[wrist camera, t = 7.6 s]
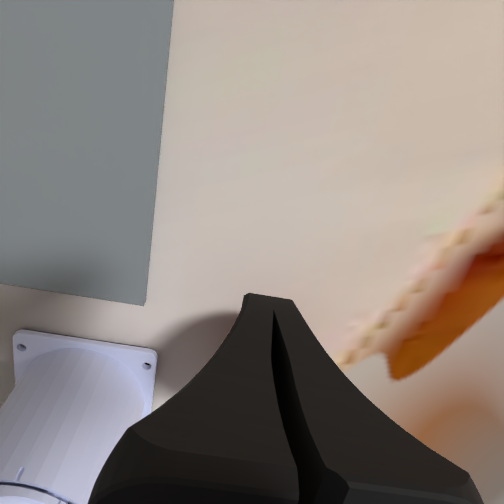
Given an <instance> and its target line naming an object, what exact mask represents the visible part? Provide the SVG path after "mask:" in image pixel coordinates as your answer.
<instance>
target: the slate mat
mask: <svg viewBox="0 0 504 504" xmlns="http://www.w3.org/2000/svg"><path fill="white" fill-rule="evenodd" d="M173 4H174V0H0V283H1V284H7V285H13V286H20V287H26V288H32V289H39V290H45V291H51V292H58V293H64V294H70V295H77V296H83V297H89V298H96V299H102V300H108V301H115V302H121V303H127V304H134V305H140V306H144V304H145V302H146V293H147V282H148V271H149V261H150V250H151V239H152V229H153V218H154V207H155V197H156V186H157V175H158V165H159V154H160V143H161V133H162V122H163V111H164V101H165V90H166V79H167V68H168V58H169V47H170V36H171V26H172V15H173Z"/></svg>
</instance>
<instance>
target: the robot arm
mask: <svg viewBox="0 0 504 504" xmlns="http://www.w3.org/2000/svg"><path fill="white" fill-rule="evenodd" d="M12 343H13V359H14V374H15V387H14V389H13V390H12V392H11V393H10V395H9V396H8V398H7V399H6V401H5V402H4V404H3V405H2V407H1V408H0V504H484V503H483V501H482V499H481V496H480V494H479V492H478V490H477V488H476V486H475V484H474V482H473V480H472V479H471V477H470V475H469V473H468V472H466V471H465V470H463V469H461V468H460V467H458V466H456V465H455V464H453V463H452V462H450V461H449V460H447V459H446V458H444V457H442V456H441V455H439V454H437V453H436V452H435V451H433V450H431V449H430V448H428V447H427V446H426V445H424V444H423V443H421V442H420V441H419V440H417V439H416V438H415V437H413V436H412V435H411V434H409V433H408V432H406V431H405V430H404V429H403V428H401V427H400V426H399V425H397V424H396V423H395V422H394V421H392V420H391V419H390V418H389V417H388V416H387V415H385V414H384V413H383V412H382V411H381V410H380V409H378V408H377V407H376V406H375V405H374V404H373V403H372V402H371V401H370V400H369V399H367V398H366V397H365V396H364V395H363V394H362V393H361V392H360V391H359V390H358V389H357V387H356V386H354V384H353V383H352V382H351V381H350V380H349V379H348V378H347V377H346V376H345V375H344V374H343V372H342V371H341V370H340V369H339V368H338V366H337V365H336V364H335V363H334V361H333V360H332V359H331V358H330V357H329V355H328V354H327V353H326V351H325V350H324V348H323V347H322V346H321V344H320V343H319V341H318V340H317V338H316V337H315V336H314V334H313V333H312V331H311V329H310V328H309V326H308V325H307V323H306V322H305V320H304V318H303V317H302V315H301V313H300V312H299V310H298V308H297V307H296V305H295V304H294V302H293V301H292V300H290V299H284V298H278V297H271V296H265V295H259V294H253V293H248V294H246V295H244V298H243V303H242V308H241V311H240V314H239V316H238V318H237V320H236V322H235V324H234V326H233V327H232V329H231V331H230V333H229V334H228V336H227V337H226V339H225V340H224V342H223V343H222V345H221V346H220V348H219V349H218V350H217V352H216V353H215V354H214V356H213V357H212V358H211V359H210V361H209V362H208V363H207V364H206V365H205V366H204V367H203V369H202V370H201V371H200V372H199V373H198V374H197V375H196V376H195V377H194V378H193V379H192V380H191V381H190V382H189V383H188V384H187V385H186V386H185V387H184V388H182V389H181V390H180V391H179V392H178V393H177V394H175V395H174V396H173V397H172V398H170V399H169V400H168V401H167V402H165V403H164V404H163V405H162V406H160V407H159V408H158V409H156V410H155V411H153V412H152V413H151V409H152V401H153V392H154V383H155V374H156V366H157V353H156V352H155V351H154V350H152V349H149V348H142V347H135V346H129V345H122V344H116V343H109V342H102V341H96V340H89V339H83V338H76V337H69V336H63V335H56V334H49V333H43V332H36V331H30V330H18V331H16V332H15V334H14V335H13V337H12ZM21 344H23V345H24V346H26V347H24V346H22V345H21ZM145 363H149V364H150V365H146V364H145Z"/></svg>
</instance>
